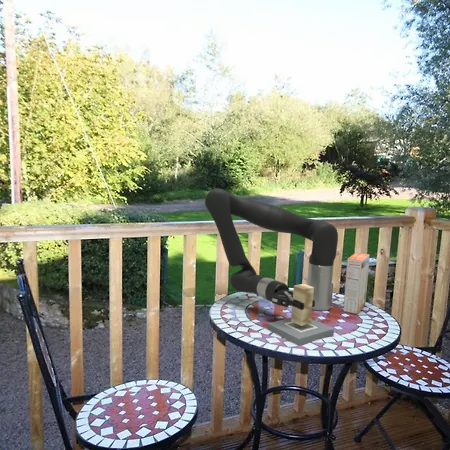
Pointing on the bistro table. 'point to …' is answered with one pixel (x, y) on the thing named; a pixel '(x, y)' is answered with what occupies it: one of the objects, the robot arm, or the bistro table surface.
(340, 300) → the bistro table surface
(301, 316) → the maple block
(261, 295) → the robot arm
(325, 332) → the grey rectangular slab
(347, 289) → the cracker box
